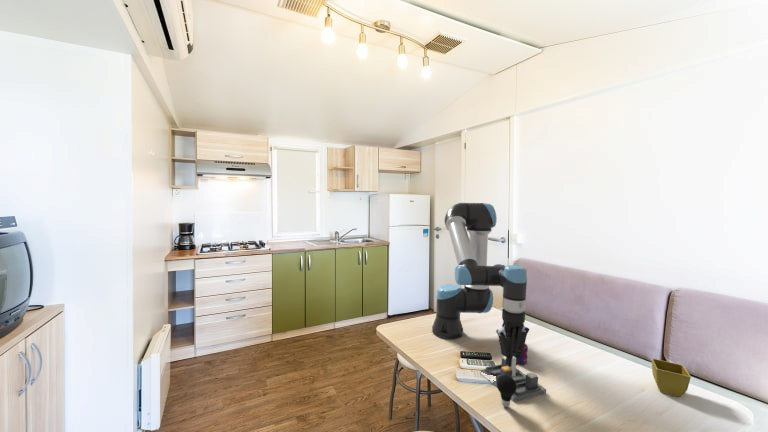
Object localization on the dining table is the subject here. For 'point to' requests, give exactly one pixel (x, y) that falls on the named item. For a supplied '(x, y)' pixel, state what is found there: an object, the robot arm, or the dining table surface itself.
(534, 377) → the breaker
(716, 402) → the dining table surface
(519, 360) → the mug
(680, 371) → the flower pot
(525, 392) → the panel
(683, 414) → the dining table surface
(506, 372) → the block
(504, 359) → the breaker
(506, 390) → the light bulb
